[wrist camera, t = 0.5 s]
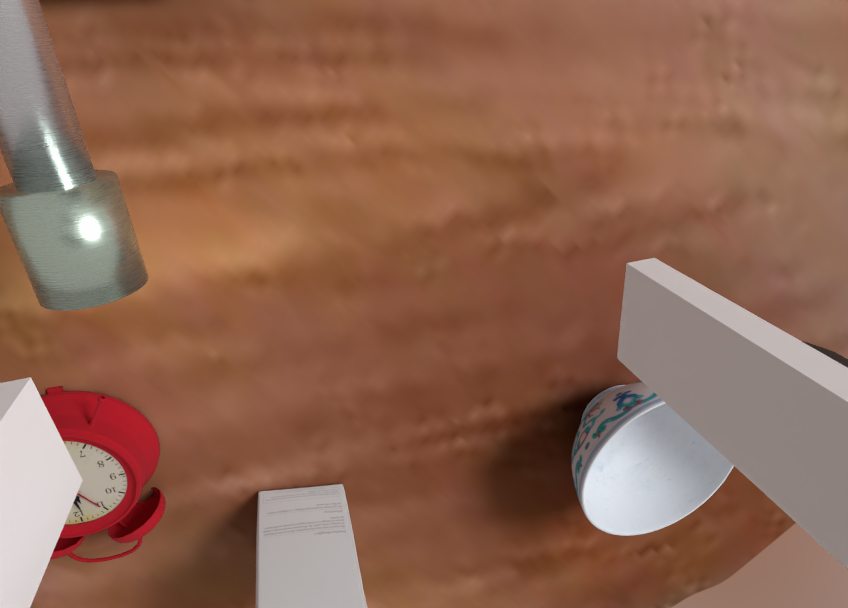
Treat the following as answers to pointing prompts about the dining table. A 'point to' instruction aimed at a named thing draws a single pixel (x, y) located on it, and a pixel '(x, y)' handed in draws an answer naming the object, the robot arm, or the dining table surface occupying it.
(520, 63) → the dining table surface
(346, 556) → the supplement box
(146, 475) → the alarm clock
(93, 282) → the shaft
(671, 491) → the chinaware
